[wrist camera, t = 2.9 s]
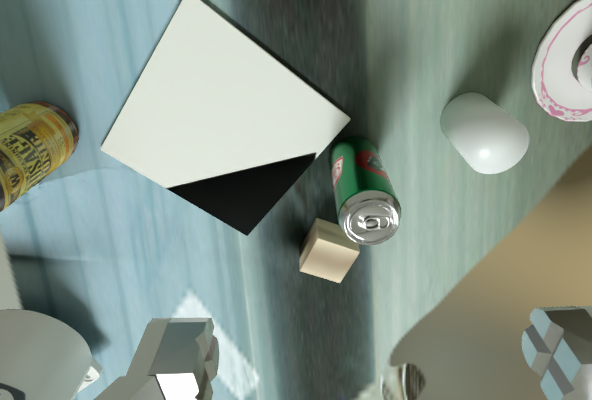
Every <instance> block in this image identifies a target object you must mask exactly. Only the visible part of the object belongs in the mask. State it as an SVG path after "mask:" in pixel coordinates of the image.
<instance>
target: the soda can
mask: <svg viewBox="0 0 592 400" xmlns="http://www.w3.org/2000/svg"><path fill="white" fill-rule="evenodd" d="M328 163H329V169H330V175H331V181H332V187H333V193H334V199H335V205H336V211H337V218H338V223H339V226H340V228H341V229H342V231H343V232H344V233H345V234H347V236H348V237H349V238H350V239H351V240H353V241H354V242H356V243H359V244H362V245H376V244H379V243H382V242H384V241H386V240H388V239H389V238H390V237H392V236H393V235H394V233H395V232H396V230H397V228H398V226H399V221H400V217H401V207H400V204H399V202H398V199H397V197H396V194H395V192H394V190H393V187H392V185H391V183H390V180H389V178H388V176H387V173H386V171H385V169H384V166H383V164H382V162H381V159H380V157H379V155H378V152H377V150H376V148H375V146H374V145H373V144H372V143H371V142H370V141H369V140H367V139H365V138H363V137H358V136H352V137H347V138H344V139H342V140H340V141H339V142H337V143H336V144H335V145H334V147H333V148H332V149H331V151H330V154H329V158H328Z"/></svg>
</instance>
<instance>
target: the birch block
mask: <svg viewBox="0 0 592 400" xmlns="http://www.w3.org/2000/svg"><path fill="white" fill-rule="evenodd" d="M359 253H360V250H359V246H358V243H356V242H354V241H353V240H351V239H350V238H349V237H348V236H347V234H345V233H344V232H343V231H342V229H341V228H340V226H339V225H337V224H334V223H331V222H328V221H325V220H322V219H319V218H316V219H315V221H314V223H313V225H312V226H311V228H310V230H309V232H308V234H307V236H306V238H305V239H304V241H303V243H302V245H301V247H300V249H299V254H300V271H302V272H305V273H308V274H312V275H315V276H318V277H321V278H325V279H328V280H331V281H334V282H338V283H340V282H341V280H342V279H343V277H344V276H345V274H346V273H347V271H348V270H349V268H350V267H351V265H352V263H353V262H354V260H355V259H356V257H357V256H358V254H359Z"/></svg>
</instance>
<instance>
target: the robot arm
mask: <svg viewBox="0 0 592 400" xmlns="http://www.w3.org/2000/svg"><path fill="white" fill-rule="evenodd" d="M529 319H530V320H531V322H532V323H533V325H531V326H529V327H528V328H527V329H525V330H524V333H523V336H522V350H523V353H524V356H525V359H526V361H527V363H528V365H529V367H530V368H531V369H532V370H533V371H535V372H536V373H538V374H539V375H540V376H542V377H541V382H540V386H541V388H542V390H543V391H544V393H545V395H546V397H547V399H548V400H592V306H579V307H576V306H567V307H544V308H536V309H534V310H533V311H532V313H531V315H530V318H529ZM213 329H214V325H213V322H212V318H152V320H151V321H150V322H149V323H148V324H147V327H146V329H145V332H144V334H143V336H142V339H141V341H140V343H139V346H138V348H137V351H136V353H135V355H134V358H133V360H132V362H131V365H130V367H129V370H128V372H127V374H126V376H121V377H119V378H118V379H116V380H115V381H114V382H113V383H112V384H111V385H110V386H109V387H107V388H106V389H105V390H104V391H103V392H102V393H101V394H100V395H98V396H97V397H96V398H95V399H94V400H212V395H213V390H212V387H211V383H210V382H211V381H212V380H213V379H214V378H215V376H216V375H217V370H218V363H219V346H218V341H217V338H216V337H215V336H213V335H212V334H213ZM102 372H103V368H102V366H101V365H100V364H99V363H98V362H97V361H96V360H95V359H94V358H93V357H92V354H91V352H90V349H89V346H88V344H87V343H86V341H85V340H84V339H83V337H82V336H81V335H80V334H79V333H78V332H76V331H75V330H74V329H73V328H71V327H70V326H68V325H67V324H65V323H63V322H61V321H59V320H57V319H55V318H53V317H50V316H48V315H45V314H42V313H38V312H34V311H28V310H20V309H7V310H0V400H74V398H75V396H76V394H77V393H78V392H79V391H81V390H82V389H83V388H85V387H86V386H88V385H89V384H91V383H92V382H94V381H95V380H97V379H98V378H99V377H100V375H101V374H102Z"/></svg>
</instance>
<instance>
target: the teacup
mask: <svg viewBox="0 0 592 400" xmlns="http://www.w3.org/2000/svg"><path fill="white" fill-rule="evenodd" d="M590 35H592V0H578V1H576V2H575V3H573V4H572V5H571V6H570V7H569V8H568V9H567V10H566V11H565V12H564V13H563V14H562V15H561V16H560V17H559V18H558V19H557V20H556V21H555V22H554V23H553V24H552V25H551V27H550V29H549V30H548V32H547V33H546V35H545V36H544V38H543V39H542V41H541V43H540V44H539V46H538V49H537V52H536V55H535V58H534V61H533V64H532V77H531V87H532V90H533V92H534V95H535V98H536V101H537V103H538V104H539V105H540V106H541V107H542V108H543V109H544V110H545V111H546V112H547V113H548V114H550V115H552V116H555V117H557V118H560V119H562V120H565V121H588V120H592V44H591V45H590V46H589V47H588V48H587V50H586V51H585V52H584V54H583V55H582V57H581V59H580V62H579V65H578V70H577V77H578V80H577V79H576V78H575V77H574V76H573V73H572V70H571V65H572V59H573V56H574V54H575V52H576V50H577V49H578V47H579V46H580V44H581V43H582V42H583V41H584V40H586V39H587V38H588V37H589V36H590Z"/></svg>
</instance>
